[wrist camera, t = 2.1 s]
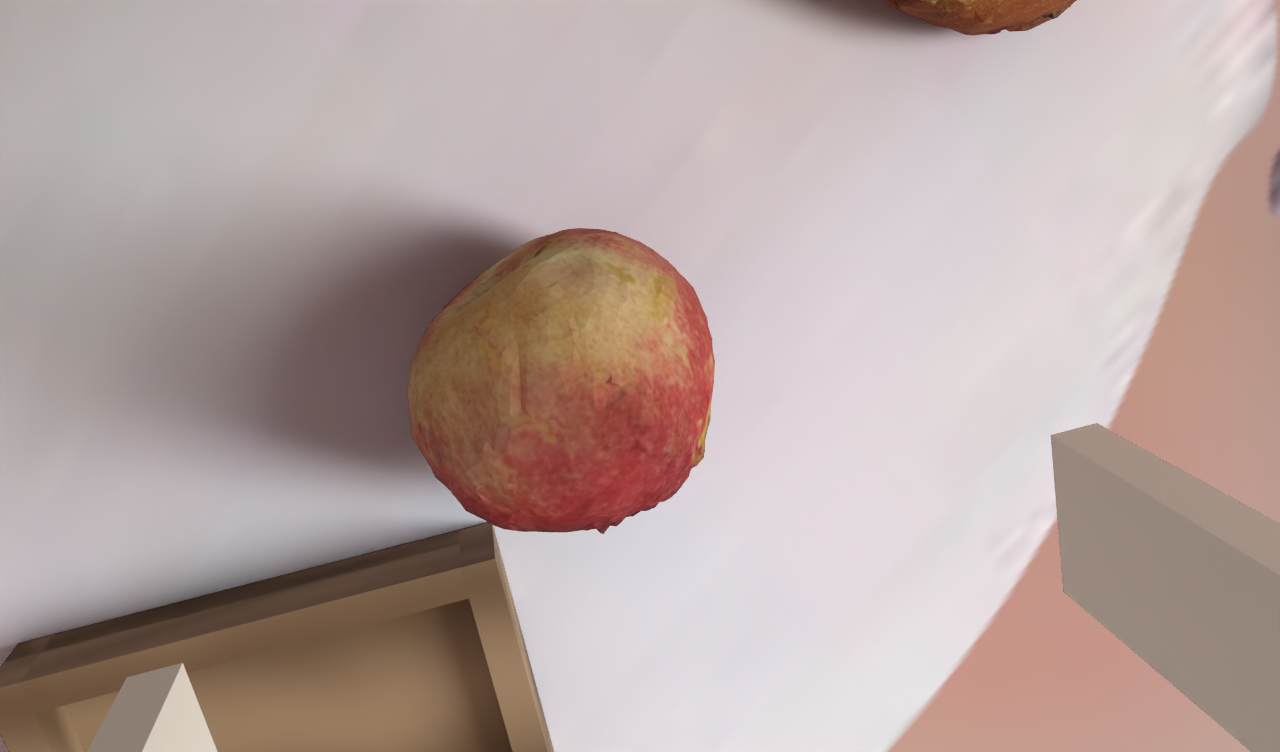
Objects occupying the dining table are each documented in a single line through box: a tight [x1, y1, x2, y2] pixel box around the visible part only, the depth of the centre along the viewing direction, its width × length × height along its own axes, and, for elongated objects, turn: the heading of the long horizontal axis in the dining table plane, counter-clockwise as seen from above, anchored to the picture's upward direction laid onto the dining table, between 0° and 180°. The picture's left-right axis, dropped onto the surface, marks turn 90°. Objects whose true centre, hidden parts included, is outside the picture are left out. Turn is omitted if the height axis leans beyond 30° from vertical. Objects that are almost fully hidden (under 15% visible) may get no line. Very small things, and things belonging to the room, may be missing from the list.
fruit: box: [408, 228, 715, 534], centre depth 27 cm, size 8×8×8 cm
